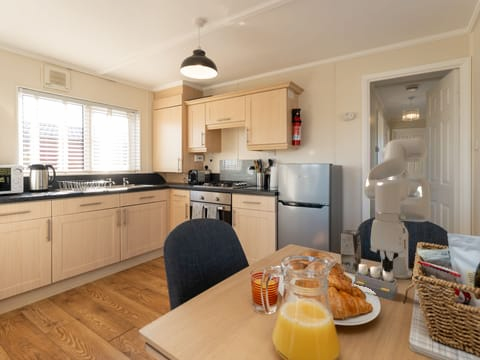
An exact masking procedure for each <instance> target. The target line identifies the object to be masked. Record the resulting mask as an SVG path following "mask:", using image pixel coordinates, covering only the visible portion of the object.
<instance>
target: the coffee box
mask: <svg viewBox="0 0 480 360" xmlns="http://www.w3.org/2000/svg"><path fill="white" fill-rule="evenodd" d="M361 235H362V232H361V230H356V229H355V230H354V229H353V230H352V229H345V230H344V231H343V232H341V233H340V267H341V266H343V267H344V268H345V271H344V272H348V273H352V274H356V273H357V272H358V271H359V264H362V257H361V256H362V249H361V245H362V243H361V241H362V238H361V237H362V236H361Z"/></svg>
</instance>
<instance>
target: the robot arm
mask: <svg viewBox="0 0 480 360" xmlns="http://www.w3.org/2000/svg"><path fill="white" fill-rule="evenodd" d="M427 156H428V147H427V143H426V141H425V140H424V139H423V138H420V137H411V138H397V139H391V140H390V141H388V142H386V144H385V146H384V147H383V149H382V150H381V160H382V161H381V162H380V163H378V164H376V165H375V166H374V167H372V168H371V169H370V170H369V172H367V175H366V179H365V182H364V187H363V188H364V189H363V191H364V195H365V197H366V198H367V199H369V200H373V201H374V205H375V211H374V217H375V219H373V221H372V225H371V230H370V248H369V250H370V251H372V252H374V253H377V254H378V256H379V257H380V259H381V264H380V265H378V266H377V267H379V268H380V275H383V269H384V271H387V272H390V271H391V270H392V271H393V279H404V280H405V279H410V278H412V277H413V276H412V273H414V272H413V271H412V270H411V269H409V231H408V229H407V227H406V226H405V223H404V222H405V221H406V222H414V223H415V222H416V223H417V222H418V223H422V222H423V223H424V222H427V221H429V219H430V218H431V212H432V211H431V208H432V207H431V206H432V205H431V186H430V183H429V181H428V180H427V179H425V178H421V177H410V173H409V171H408V169H407V163H417V162H419V163H420V162H424V161H425V160H426V158H427Z"/></svg>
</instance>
